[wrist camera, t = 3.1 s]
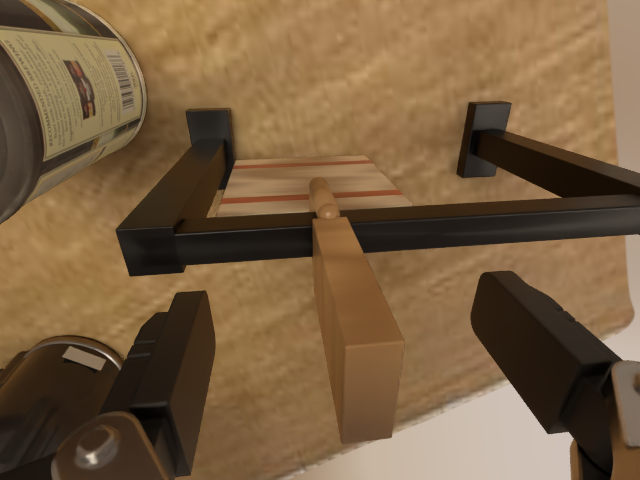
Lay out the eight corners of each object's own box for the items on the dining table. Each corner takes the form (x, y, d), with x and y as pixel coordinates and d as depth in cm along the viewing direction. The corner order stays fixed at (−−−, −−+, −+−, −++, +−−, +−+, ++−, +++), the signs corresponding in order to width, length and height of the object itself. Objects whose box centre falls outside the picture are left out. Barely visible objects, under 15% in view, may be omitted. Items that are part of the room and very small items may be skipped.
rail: (202, 185, 29) (129, 319, 14) (188, 108, 26) (80, 174, 11) (487, 172, 31) (677, 273, 17) (503, 101, 29) (748, 147, 14)
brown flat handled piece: (239, 189, 25) (167, 478, 8) (232, 134, 23) (119, 352, 6) (363, 183, 26) (544, 429, 9) (366, 130, 24) (599, 307, 7)
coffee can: (-56, 51, 23) (-453, 43, 10) (67, -41, 21) (-217, -177, 9) (71, 182, 27) (-96, 285, 15) (178, 113, 26) (93, 164, 14)
